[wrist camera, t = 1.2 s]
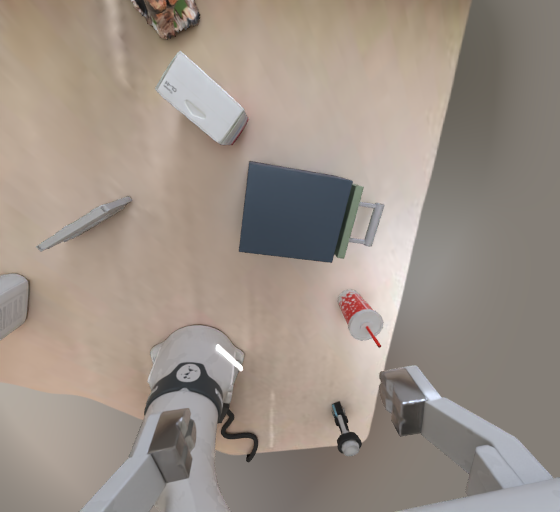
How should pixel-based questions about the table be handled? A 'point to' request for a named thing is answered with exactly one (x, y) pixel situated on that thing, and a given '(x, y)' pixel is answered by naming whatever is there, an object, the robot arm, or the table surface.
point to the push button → (345, 433)
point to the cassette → (85, 223)
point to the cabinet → (292, 212)
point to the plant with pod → (168, 15)
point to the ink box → (202, 100)
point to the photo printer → (12, 302)
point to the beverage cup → (360, 316)
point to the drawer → (350, 218)
